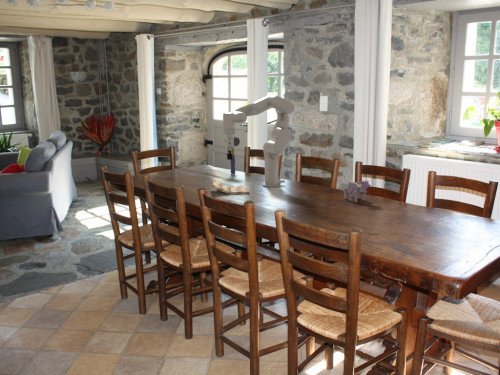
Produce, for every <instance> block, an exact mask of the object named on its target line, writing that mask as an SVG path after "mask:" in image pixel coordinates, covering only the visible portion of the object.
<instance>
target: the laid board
mask: <svg viewBox="0 0 500 375" xmlns="http://www.w3.org/2000/svg"><path fill="white" fill-rule="evenodd" d="M229 189H230V194H229V195H249V194H250V190H249V187H248V185H237V186H236V185H233V186H231V185H230V186H229Z"/></svg>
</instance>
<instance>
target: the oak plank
mask: <svg viewBox="0 0 500 375" xmlns="http://www.w3.org/2000/svg"><path fill="white" fill-rule="evenodd" d="M210 184H211V187H212V188H214V189H215V190H218V191H220V192H223V193H226V194H227V195H231V194H230V189H229V187H230V186H228V185H226V184H223V183H221V182H219V181H216V180H214V179H212V180H210Z"/></svg>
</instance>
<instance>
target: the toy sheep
mask: <svg viewBox="0 0 500 375" xmlns="http://www.w3.org/2000/svg"><path fill="white" fill-rule="evenodd" d="M371 187H372V186H371V184H370V183H369V180H366V179H365V180H362V181H357V182H355V181H348V187H347V188H346V187H344V188H343V189H342V192H343V197H344V200H347V199H348V197H347V193H348V195H349V201H350V202H352V201H353V198H354V203H358V199H359V198H360V193H362V201H366V194H367V189H368V188H371Z"/></svg>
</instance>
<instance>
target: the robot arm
mask: <svg viewBox="0 0 500 375" xmlns="http://www.w3.org/2000/svg"><path fill="white" fill-rule="evenodd" d="M295 108H296V107H295V105H294V103H293V102H292V101H290V100H288V99H285V98H283V97H281V96H279V95H273V94H272V95H271V94H269V95H266V96H265V97H262V98H260V99H258V100H256V101H254V102H252V103H248V104H246V105H243V106H241V107H238V108H237V109H234V110H233V111H231V112H229V111H228V112H223V113H222V114H223V115H222V130H223V132H222V134H223V135H225V137H224V138H225V139H224V142H225V141H226V143H225V148H226V150H227V151H226V158H227V160H228V161H230V160H232V148H233V149H234V150H235V146H234V137H235V136H234V135H235V134H236V131H235V130H236V129H235V128H236V127H235V124H244V123H245V122H246V121H247V119H248V117H251V116H258V115H260V114H262V113H264V112H266V111H268V110H270V109H274V110H275V112H276V121H275V123H274V125H273V128H272V131H271V133H270V138H271V139H273V140H267V141H265V143H264V144H263V146H262V149H263V156H264V157H263V158H264V182H263V183H262V186H263V187H267V188H277V187H280V186H281V183H282V184H285V183H286V180H285V179H279V157H281V156H282V155H284V153H285V152H286V149H287V148H288V146H289V143H290V141H291V137H292V133H291V130H290V129H289V128H288V125H289V122H290V117H289V115H291V114H292V113H294V111H295V110H296V109H295ZM233 136H234V137H233ZM274 140H275V141H274Z"/></svg>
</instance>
